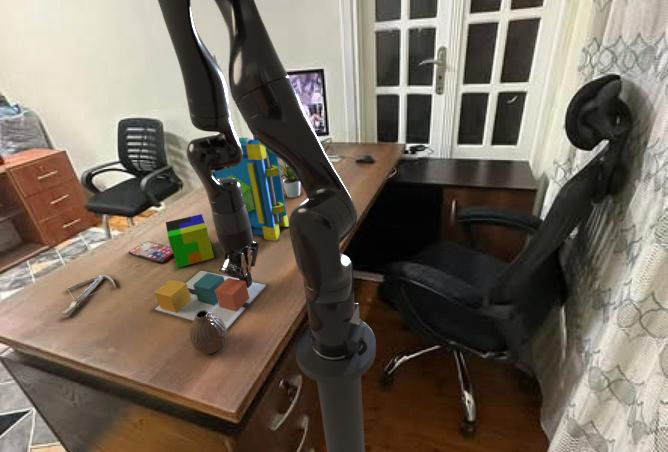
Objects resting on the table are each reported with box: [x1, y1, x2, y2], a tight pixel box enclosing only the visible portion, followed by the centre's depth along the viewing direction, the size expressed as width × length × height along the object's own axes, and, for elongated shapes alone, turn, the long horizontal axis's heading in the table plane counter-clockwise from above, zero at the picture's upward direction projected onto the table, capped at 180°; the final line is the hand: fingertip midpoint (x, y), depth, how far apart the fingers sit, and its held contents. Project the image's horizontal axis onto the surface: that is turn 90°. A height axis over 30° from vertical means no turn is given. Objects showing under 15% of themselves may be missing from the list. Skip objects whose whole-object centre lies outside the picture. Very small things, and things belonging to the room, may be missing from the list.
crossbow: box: [61, 274, 117, 318], centre depth 90 cm, size 16×13×2 cm
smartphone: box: [128, 241, 174, 264], centre depth 106 cm, size 7×1×15 cm
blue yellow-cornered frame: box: [206, 137, 289, 242], centre depth 107 cm, size 14×23×30 cm, turn 70°
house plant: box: [278, 160, 301, 199], centre depth 134 cm, size 14×14×16 cm
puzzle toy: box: [165, 213, 215, 269], centre depth 101 cm, size 10×10×10 cm
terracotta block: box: [215, 277, 249, 312], centre depth 82 cm, size 5×5×5 cm
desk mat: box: [154, 270, 267, 331], centre depth 86 cm, size 21×16×1 cm
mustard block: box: [154, 279, 192, 313], centre depth 83 cm, size 5×5×5 cm
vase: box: [189, 310, 228, 355], centre depth 70 cm, size 7×7×9 cm
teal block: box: [193, 272, 225, 305], centre depth 84 cm, size 5×5×5 cm
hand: (247, 285), depth 86 cm, fingers closed
